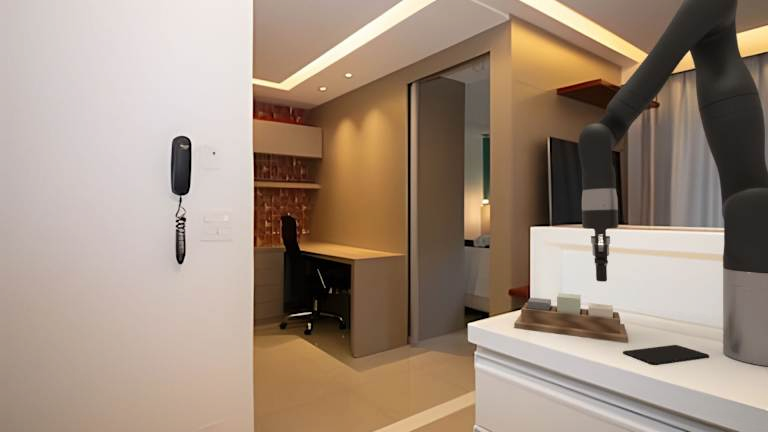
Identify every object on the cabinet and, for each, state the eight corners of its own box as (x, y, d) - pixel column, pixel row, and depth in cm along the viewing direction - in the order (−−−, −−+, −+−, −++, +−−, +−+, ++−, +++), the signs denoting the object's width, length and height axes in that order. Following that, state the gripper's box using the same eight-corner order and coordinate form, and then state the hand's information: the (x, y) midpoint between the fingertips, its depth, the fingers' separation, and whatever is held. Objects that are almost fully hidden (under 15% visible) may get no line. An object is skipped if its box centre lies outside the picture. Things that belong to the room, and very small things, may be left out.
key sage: (580, 314, 96) (580, 295, 96) (579, 318, 92) (579, 298, 92) (558, 311, 99) (558, 293, 99) (557, 316, 94) (557, 296, 94)
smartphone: (620, 351, 78) (675, 344, 82) (620, 355, 78) (676, 348, 82) (653, 362, 72) (711, 354, 76) (653, 367, 72) (711, 359, 76)
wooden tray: (624, 328, 95) (624, 311, 95) (628, 343, 84) (628, 322, 84) (522, 316, 106) (522, 300, 106) (514, 327, 96) (514, 310, 96)
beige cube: (612, 325, 93) (612, 305, 93) (612, 330, 89) (612, 309, 89) (588, 322, 95) (588, 303, 95) (588, 327, 91) (588, 307, 91)
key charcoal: (551, 317, 100) (551, 299, 100) (549, 322, 95) (549, 303, 95) (530, 315, 102) (530, 297, 102) (527, 320, 98) (527, 301, 98)
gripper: (619, 207, 85) (621, 286, 84) (616, 208, 96) (618, 278, 96) (581, 208, 88) (583, 284, 88) (582, 209, 100) (584, 276, 99)
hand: (601, 280), depth 92 cm, fingers closed
